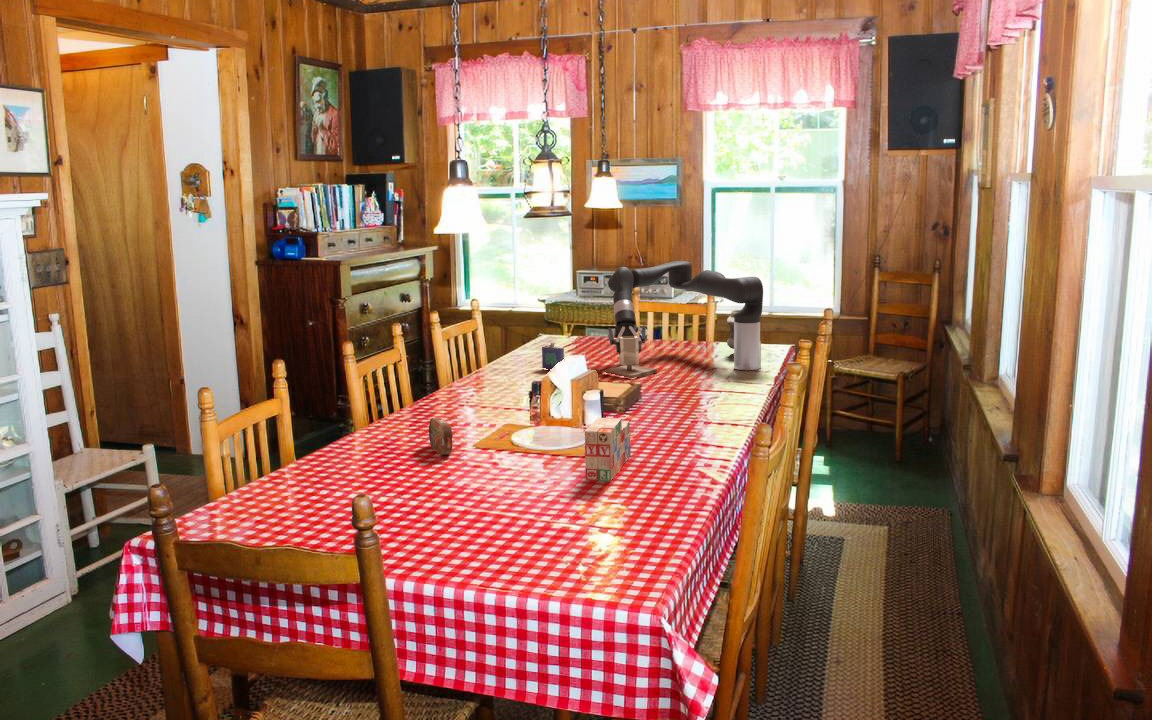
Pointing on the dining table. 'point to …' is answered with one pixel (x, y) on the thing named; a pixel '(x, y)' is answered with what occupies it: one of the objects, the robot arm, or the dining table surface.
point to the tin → (440, 436)
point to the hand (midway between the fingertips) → (629, 352)
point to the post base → (631, 371)
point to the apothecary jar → (731, 330)
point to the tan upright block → (629, 350)
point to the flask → (551, 355)
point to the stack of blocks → (606, 448)
